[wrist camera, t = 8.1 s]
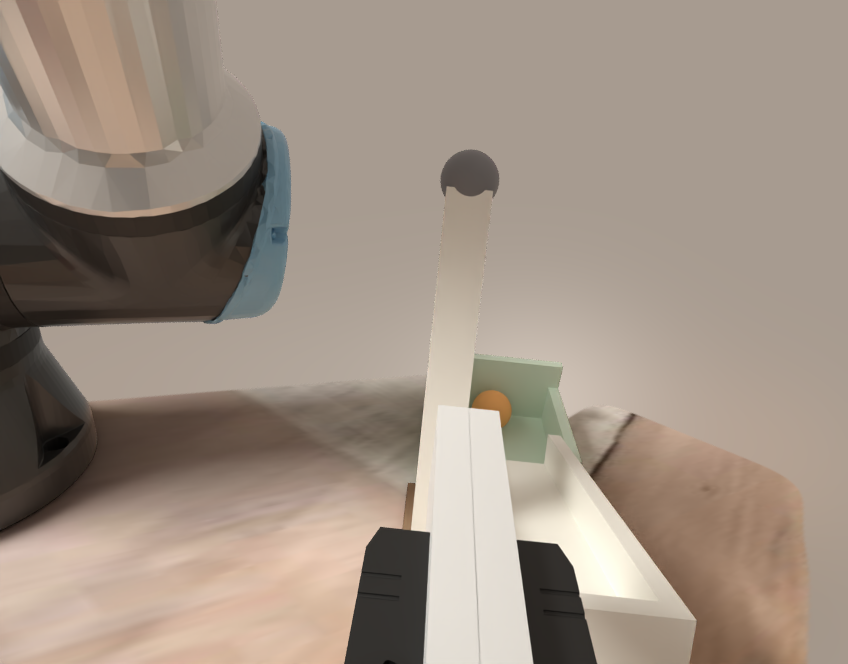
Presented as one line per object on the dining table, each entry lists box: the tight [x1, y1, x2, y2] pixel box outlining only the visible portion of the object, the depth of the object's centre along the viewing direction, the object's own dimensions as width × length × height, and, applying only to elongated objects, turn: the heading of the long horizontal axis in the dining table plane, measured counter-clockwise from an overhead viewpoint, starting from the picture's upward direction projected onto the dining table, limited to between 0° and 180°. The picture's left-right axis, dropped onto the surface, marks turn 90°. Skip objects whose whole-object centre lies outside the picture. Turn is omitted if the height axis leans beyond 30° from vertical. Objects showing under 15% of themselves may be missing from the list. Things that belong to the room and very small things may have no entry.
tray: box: [468, 354, 582, 464], centre depth 40 cm, size 10×11×6 cm
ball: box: [472, 390, 512, 428], centre depth 42 cm, size 3×3×3 cm
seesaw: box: [411, 150, 697, 664], centre depth 24 cm, size 18×9×18 cm, turn 177°
